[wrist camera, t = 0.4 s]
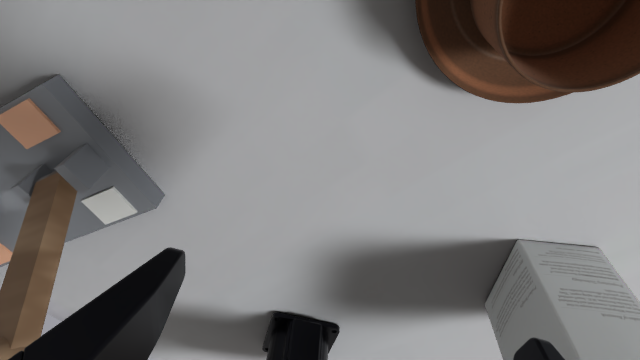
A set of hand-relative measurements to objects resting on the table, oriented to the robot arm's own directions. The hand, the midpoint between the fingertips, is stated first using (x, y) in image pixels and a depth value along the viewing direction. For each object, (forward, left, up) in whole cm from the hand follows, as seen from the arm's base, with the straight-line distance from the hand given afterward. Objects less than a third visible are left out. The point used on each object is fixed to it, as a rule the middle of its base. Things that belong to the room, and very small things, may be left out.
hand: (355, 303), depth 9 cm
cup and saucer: (+8, -7, -15) cm, 19 cm away
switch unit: (-14, +21, -15) cm, 30 cm away
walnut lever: (-10, +16, -12) cm, 23 cm away
